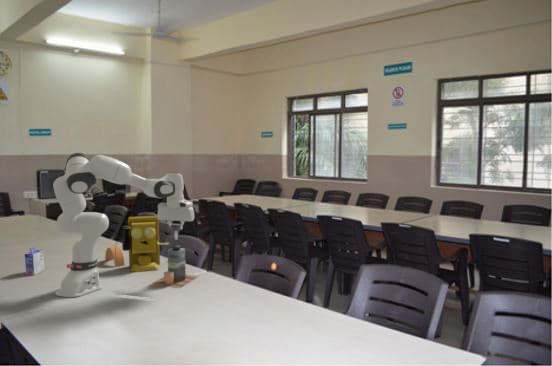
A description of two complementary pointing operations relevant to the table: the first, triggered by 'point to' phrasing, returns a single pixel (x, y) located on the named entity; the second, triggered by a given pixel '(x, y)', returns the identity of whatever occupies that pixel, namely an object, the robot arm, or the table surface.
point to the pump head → (175, 229)
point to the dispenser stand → (176, 268)
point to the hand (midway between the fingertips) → (175, 228)
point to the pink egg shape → (169, 278)
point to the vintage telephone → (142, 243)
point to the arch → (111, 255)
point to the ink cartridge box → (34, 262)
